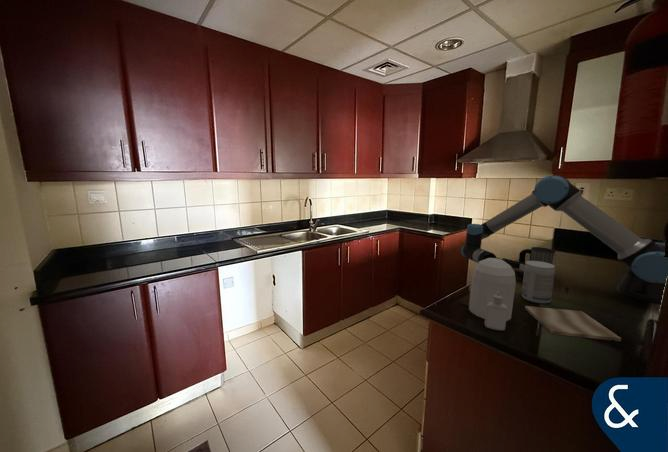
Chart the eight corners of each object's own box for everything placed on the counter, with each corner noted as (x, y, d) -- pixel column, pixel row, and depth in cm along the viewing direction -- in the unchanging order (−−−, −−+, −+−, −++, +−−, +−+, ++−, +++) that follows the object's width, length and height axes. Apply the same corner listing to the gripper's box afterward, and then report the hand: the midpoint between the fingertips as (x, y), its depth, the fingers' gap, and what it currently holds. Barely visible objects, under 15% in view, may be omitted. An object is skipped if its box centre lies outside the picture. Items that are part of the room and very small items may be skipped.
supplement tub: (554, 300, 106) (560, 265, 103) (544, 306, 100) (550, 269, 98) (526, 292, 114) (531, 259, 111) (516, 297, 108) (520, 262, 106)
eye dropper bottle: (501, 333, 82) (506, 297, 80) (482, 326, 87) (486, 291, 85) (506, 328, 85) (511, 293, 83) (487, 321, 89) (491, 287, 87)
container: (516, 324, 88) (524, 266, 84) (470, 317, 92) (476, 261, 89) (505, 307, 100) (512, 255, 97) (466, 301, 105) (471, 251, 101)
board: (581, 313, 95) (581, 311, 95) (620, 341, 79) (621, 338, 79) (524, 308, 99) (525, 305, 99) (551, 333, 83) (551, 330, 82)
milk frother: (551, 278, 130) (555, 249, 128) (549, 288, 118) (554, 255, 116) (516, 271, 139) (520, 244, 137) (511, 280, 128) (515, 250, 125)
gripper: (505, 264, 138) (542, 279, 117) (461, 265, 134) (491, 281, 114) (507, 250, 137) (545, 262, 116) (462, 251, 133) (493, 264, 113)
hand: (518, 272), depth 115 cm, fingers open, 13 cm apart
